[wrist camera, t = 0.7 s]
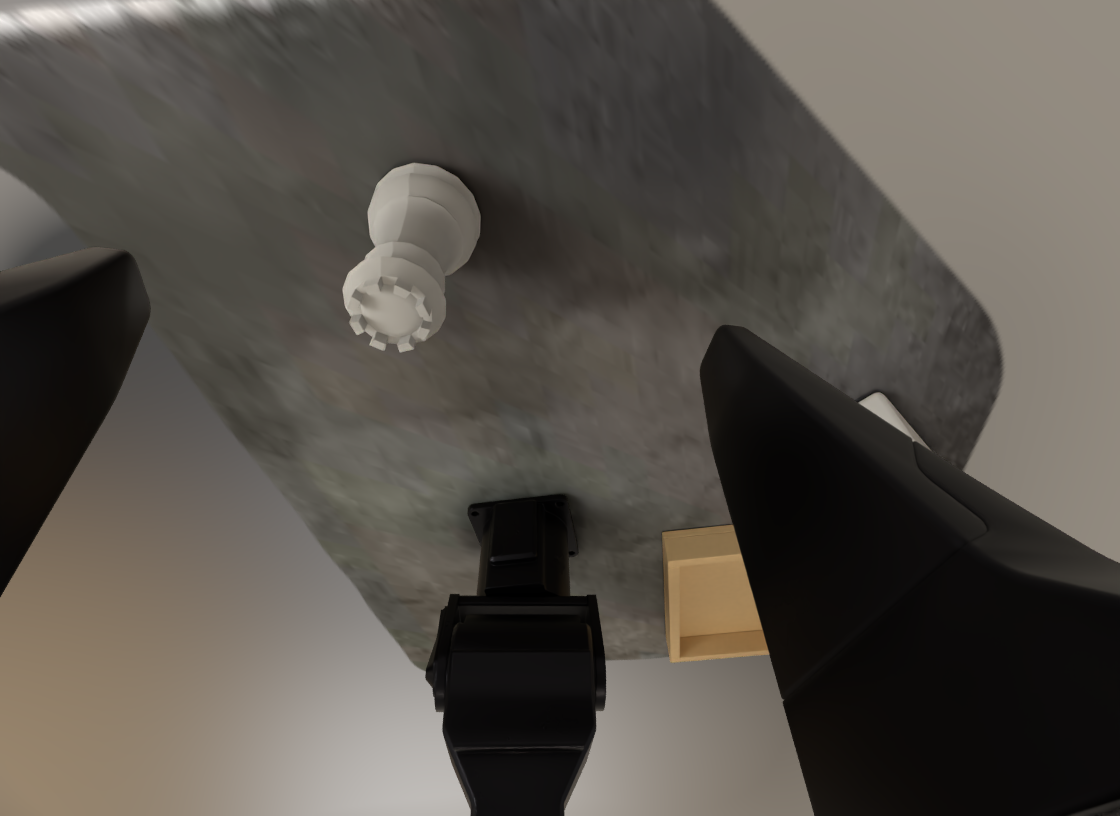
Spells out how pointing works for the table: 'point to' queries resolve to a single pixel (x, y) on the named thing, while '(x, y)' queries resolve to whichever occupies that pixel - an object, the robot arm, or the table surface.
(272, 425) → the table surface
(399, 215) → the rook chess piece
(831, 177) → the table surface
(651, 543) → the table surface
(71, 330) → the robot arm
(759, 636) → the tray
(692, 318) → the table surface
